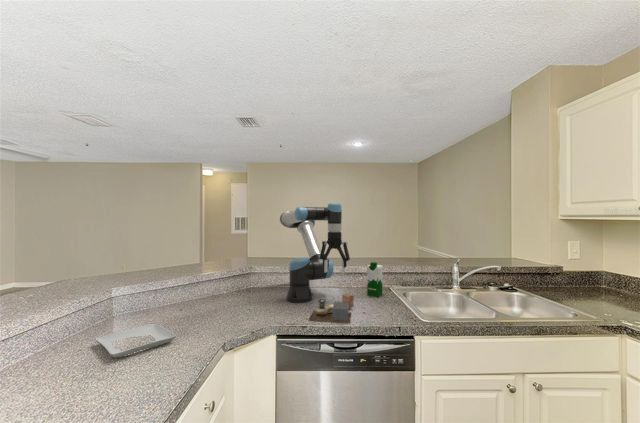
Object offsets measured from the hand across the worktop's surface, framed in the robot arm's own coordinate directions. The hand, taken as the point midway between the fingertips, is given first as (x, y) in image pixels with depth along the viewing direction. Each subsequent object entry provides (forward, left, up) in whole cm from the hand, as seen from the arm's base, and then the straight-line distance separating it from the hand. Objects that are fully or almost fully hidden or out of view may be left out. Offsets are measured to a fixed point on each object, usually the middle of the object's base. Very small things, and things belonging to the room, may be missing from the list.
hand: (334, 272), depth 157 cm
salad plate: (+16, -89, -18) cm, 93 cm away
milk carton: (-10, +32, -18) cm, 38 cm away
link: (+10, -4, -16) cm, 20 cm away
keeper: (+16, -9, -18) cm, 26 cm away
